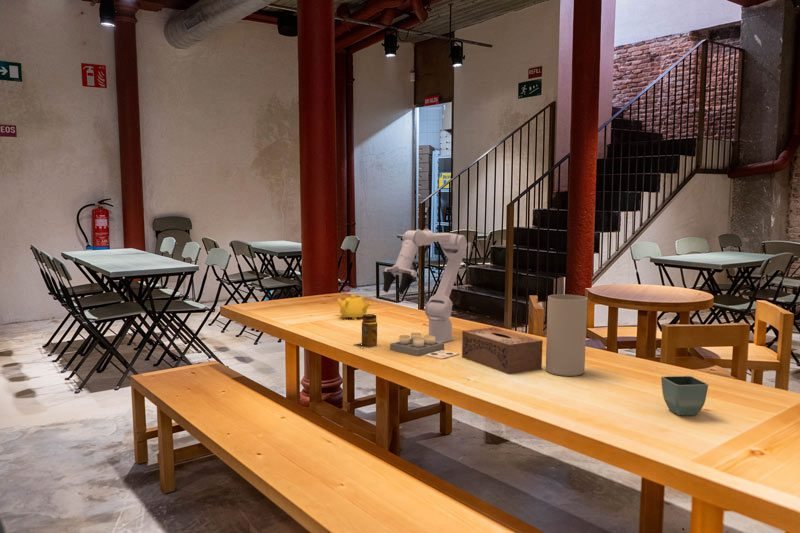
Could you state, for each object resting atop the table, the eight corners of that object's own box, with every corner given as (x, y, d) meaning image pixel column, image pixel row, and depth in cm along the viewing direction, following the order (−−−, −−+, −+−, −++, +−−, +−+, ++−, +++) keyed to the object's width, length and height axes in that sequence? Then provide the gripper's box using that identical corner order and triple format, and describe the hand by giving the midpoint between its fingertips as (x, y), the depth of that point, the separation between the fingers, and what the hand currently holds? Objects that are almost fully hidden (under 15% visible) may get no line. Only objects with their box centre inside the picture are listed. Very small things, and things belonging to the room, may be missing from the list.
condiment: (381, 346, 245) (381, 315, 244) (362, 348, 241) (362, 317, 240) (371, 342, 251) (371, 312, 250) (353, 345, 247) (353, 314, 246)
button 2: (415, 339, 247) (415, 332, 247) (423, 341, 244) (423, 333, 244) (408, 341, 244) (408, 333, 244) (416, 342, 241) (416, 335, 241)
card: (442, 351, 238) (442, 349, 238) (459, 354, 233) (459, 353, 233) (424, 355, 231) (424, 354, 231) (442, 359, 225) (442, 357, 225)
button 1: (404, 342, 242) (404, 334, 242) (412, 343, 240) (412, 336, 239) (397, 343, 239) (397, 336, 239) (405, 345, 237) (405, 337, 236)
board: (416, 343, 250) (416, 337, 250) (444, 349, 241) (444, 343, 240) (390, 349, 239) (390, 343, 239) (418, 356, 230) (418, 349, 229)
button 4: (429, 342, 242) (429, 334, 242) (437, 344, 240) (437, 336, 239) (422, 344, 239) (422, 336, 239) (430, 345, 237) (430, 337, 236)
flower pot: (658, 408, 174) (660, 375, 173) (689, 407, 175) (691, 375, 174) (675, 418, 165) (676, 385, 164) (707, 418, 166) (709, 384, 165)
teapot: (381, 317, 307) (381, 294, 306) (359, 323, 292) (359, 299, 291) (347, 313, 318) (348, 291, 317) (325, 318, 303) (325, 295, 302)
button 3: (418, 345, 238) (418, 337, 237) (426, 346, 235) (426, 338, 235) (411, 346, 235) (411, 338, 234) (419, 348, 232) (419, 340, 232)
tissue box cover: (461, 358, 229) (462, 330, 228) (493, 353, 236) (494, 327, 235) (508, 374, 207) (509, 344, 206) (541, 369, 214) (542, 340, 213)
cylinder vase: (537, 369, 214) (540, 295, 211) (568, 365, 219) (570, 293, 216) (561, 378, 202) (564, 300, 200) (592, 374, 207) (595, 298, 205)
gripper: (384, 253, 239) (372, 285, 235) (413, 255, 230) (400, 289, 226) (395, 262, 244) (383, 293, 240) (424, 264, 234) (412, 297, 230)
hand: (392, 292), depth 233 cm, fingers open, 7 cm apart
